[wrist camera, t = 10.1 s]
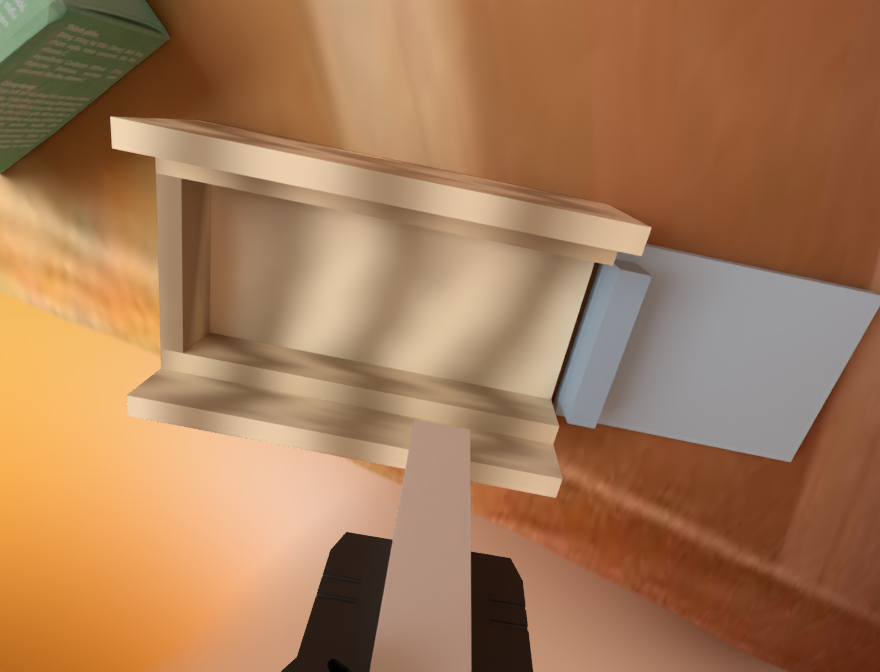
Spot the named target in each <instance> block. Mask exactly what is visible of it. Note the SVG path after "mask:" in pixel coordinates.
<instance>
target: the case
mask: <svg viewBox="0 0 880 672" xmlns="http://www.w3.org/2000/svg"><path fill="white" fill-rule="evenodd" d="M110 122H111V139H112V148H113V149H117V150H122V151H127V152H132V153H137V154H142V155H147V156H152V157H155V162H156V197H157V233H158V268H159V304H160V339H161V369H160V370H159V371H158V372H156V373H155V374H154V375H152V376H151V377H150V378H148V379H147V380H146V381H145V382H143V383H142V384H141V385H139V386H138V387H137V388H136V389H134V390H133V391H132V392H130V393H129V394H128V395H127V408H128V416H131V417H137V418H142V419H147V420H152V421H157V422H163V423H168V424H174V425H178V426H184V427H189V428H194V429H199V430H204V431H210V432H215V433H220V434H225V435H231V436H236V437H241V438H246V439H251V440H257V441H263V442H267V443H273V444H278V445H283V446H288V447H293V448H299V449H304V450H309V451H314V452H319V453H325V454H330V455H335V456H340V457H345V458H351V459H356V460H361V461H366V462H372V463H377V464H382V465H387V466H392V467H398V468H403V469H405V468H406V462H407V456H408V451H409V445H410V440H411V434H412V429H413V423H414V420H417V421H423V422H428V423H434V424H440V425H446V426H451V427H457V428H463V429H469V430H470V481H471V482H476V483H481V484H486V485H492V486H497V487H502V488H507V489H512V490H518V491H523V492H528V493H533V494H539V495H544V496H549V497H554V498H556V496H557V493H558V491H559V488H560V485H561V482H562V475H561V472H560V468H559V464H558V460H557V457H556V453H555V449H554V445H553V444H554V441H555V438H556V435H557V432H558V429H559V424H558V421H557V417H556V414H555V411H554V408H553V404H552V401H551V398H552V395H553V392H554V388H555V385H556V382H557V379H558V376H559V373H560V370H561V367H562V363H563V360H564V357H565V354H566V351H567V348H568V345H569V341H570V338H571V335H572V332H573V329H574V326H575V323H576V320H577V316H578V313H579V310H580V307H581V304H582V301H583V298H584V294H585V291H586V288H587V285H588V282H589V279H590V276H591V273H592V269H593V266H594V263H595V262H596V263H601V264H606V265H611V266H613V265H614V262H615V259H616V256H617V253H618V252H623V253H628V254H633V255H638V256H642V254H643V251H644V248H645V245H646V242H647V240H648V237H649V234H650V231H651V227H650V226H648V225H646V224H644V223H642V222H640V221H638V220H636V219H635V218H633V217H631V216H629V215H627V214H625V213H623V212H622V211H620V210H618V209H616V208H614V207H612V206H610V205H608V204H605V203H600V202H595V201H591V200H586V199H581V198H576V197H571V196H566V195H561V194H557V193H552V192H547V191H542V190H537V189H532V188H527V187H523V186H518V185H513V184H508V183H503V182H498V181H493V180H489V179H484V178H479V177H474V176H469V175H464V174H459V173H455V172H450V171H445V170H440V169H435V168H430V167H425V166H421V165H416V164H411V163H406V162H401V161H396V160H391V159H387V158H382V157H377V156H372V155H367V154H362V153H358V152H353V151H348V150H343V149H338V148H333V147H328V146H324V145H319V144H314V143H309V142H304V141H299V140H294V139H290V138H285V137H280V136H275V135H270V134H265V133H260V132H256V131H251V130H246V129H241V128H236V127H231V126H226V125H222V124H217V123H212V122H207V121H202V120H191V119H164V118H137V117H110Z"/></svg>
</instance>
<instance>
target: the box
mask: <svg viewBox="0 0 880 672" xmlns="http://www.w3.org/2000/svg"><path fill="white" fill-rule="evenodd" d="M169 39H171V38H170V37H169V35H168V33H167V31H166V29H165V28H164V26H163V25H162V24H161V22H160V21H159V19H158V18H157V16H156V15H155V13H154V12H153V10H152V9H151V7H150V6H149V4H148V3H147V2H146V0H0V174H1V173H2V172H4V171H5V170H7V169H8V168H9V167H10V166H12V165H13V164H14V163H16V162H17V161H18V160H20V159H21V158H22V157H24V156H25V155H26V154H28V153H29V152H30V151H32V150H33V149H34V148H36V147H37V146H38V145H40V144H41V143H42V142H44V141H45V140H46V139H48V138H49V137H50V136H52V135H53V134H54V133H56V132H57V131H58V130H59V129H60V128H62V127H63V126H64V125H65V124H66V123H68V122H69V121H70V120H71V119H73V118H74V117H75V116H76V115H77V114H79V113H80V112H81V111H82V110H84V109H85V108H86V107H87V106H88V105H90V104H91V103H92V102H93V101H94V100H96V99H97V98H98V97H99V96H101V95H102V94H103V93H104V92H105V91H107V90H108V89H109V88H110V87H111V86H113V85H114V84H115V83H116V82H117V81H119V80H120V79H121V78H122V77H123V76H125V75H126V74H127V73H128V72H129V71H131V70H132V69H133V68H134V67H136V66H137V65H138V64H139V63H141V62H142V61H143V60H145V59H146V58H147V57H148V56H150V55H151V54H152V53H153V52H155V51H156V50H157V49H158V48H160V47H161V46H162V45H163V44H165V43H166V42H167V41H168V40H169Z"/></svg>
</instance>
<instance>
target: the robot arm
mask: <svg viewBox="0 0 880 672" xmlns="http://www.w3.org/2000/svg"><path fill="white" fill-rule="evenodd" d="M527 626H528V625H527V615H526V610H525V598H524V589H523V581H522V579H521V577H520V575H519V573H518V571H517V569H516V568H515V566H514V564H513V562H512V560H511V558H506V557H499V556H494V555H488V554H482V553H476V552H471V504H470V430H469V429H463V428H457V427H451V426H446V425H440V424H434V423H428V422H423V421H417V420H414V423H413V429H412V434H411V440H410V445H409V451H408V456H407V462H406V468H405V473H404V479H403V484H402V490H401V496H400V501H399V507H398V512H397V518H396V524H395V529H394V535H393V540H390V539H384V538H379V537H372V536H367V535H361V534H355V533H349V532H346V533H345V534H344V535H343V537H342V538H341V539H340V540H339V541H338V542H337V543H336V544H335V546H334V547H333V548H332V549H331V551H330V554H329V557H328V560H327V563H326V567H325V569H324V573H323V577H322V579H321V582H320V585H319V589H318V592H317V596H316V598H315V601H314V605H313V608H312V611H311V614H310V617H309V621H308V624H307V627H306V630H305V633H304V636H303V639H302V643H301V646H300V649H299V652H298V656H297V658H295V659H294V660H293V661H292V662H291V663H290V664H289V665H288V666H287V667H286V668H284V669H283V670H282V671H281V672H533V668H532V658H531V650H530V641H529V632H528V631H527Z"/></svg>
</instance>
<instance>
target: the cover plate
mask: <svg viewBox="0 0 880 672" xmlns="http://www.w3.org/2000/svg"><path fill="white" fill-rule="evenodd" d="M879 306H880V294H878V293H875V292H873V291H869V290H864V289H860V288H855V287H850V286H845V285H841V284H836V283H831V282H826V281H822V280H817V279H812V278H807V277H803V276H798V275H793V274H788V273H784V272H779V271H774V270H769V269H765V268H760V267H755V266H751V265H746V264H741V263H736V262H732V261H727V260H722V259H717V258H713V257H708V256H703V255H698V254H694V253H689V252H684V251H679V250H675V249H670V248H665V247H661V246H656V245H651V244H646V245H645V248H644V251H643V254H642V256H638V255H633V254H628V253H623V252H618V253H617V256H616V259H615V262H614V265H613V266H611V265H606V264H601V263H600V264H599V267H598V270H597V273H596V276H595V279H594V282H593V285H592V288H591V291H590V294H589V297H588V300H587V303H586V306H585V309H584V312H583V315H582V318H581V321H580V324H579V327H578V330H577V333H576V336H575V339H574V342H573V345H572V348H571V352H570V355H569V358H568V361H567V364H566V367H565V370H564V373H563V376H562V379H561V382H560V385H559V388H558V391H557V394H556V397H555V400H554V403H553V408H554V411H555V414H556V415H558V416H563V417H565V418H566V421H567V423H569V424H574V425H579V426H584V427H589V428H594V429H595V427H596V425H597V423H598V424H603V425H608V426H613V427H618V428H623V429H628V430H633V431H638V432H643V433H648V434H653V435H658V436H663V437H668V438H673V439H678V440H683V441H688V442H693V443H698V444H703V445H708V446H713V447H718V448H723V449H728V450H732V451H737V452H742V453H747V454H752V455H757V456H762V457H767V458H772V459H777V460H782V461H787V462H791V460H792V459H793V457H794V455H795V453H796V452H797V450H798V448H799V446H800V445H801V443H802V441H803V439H804V438H805V436H806V434H807V432H808V431H809V429H810V427H811V425H812V424H813V422H814V420H815V418H816V417H817V415H818V413H819V411H820V410H821V408H822V406H823V404H824V403H825V401H826V399H827V397H828V396H829V394H830V392H831V390H832V389H833V387H834V385H835V383H836V382H837V380H838V378H839V376H840V375H841V373H842V371H843V369H844V368H845V366H846V364H847V362H848V361H849V359H850V357H851V355H852V354H853V352H854V350H855V348H856V347H857V345H858V343H859V341H860V340H861V338H862V336H863V334H864V333H865V331H866V329H867V327H868V326H869V324H870V322H871V320H872V319H873V317H874V315H875V313H876V312H877V310H878V308H879Z"/></svg>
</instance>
